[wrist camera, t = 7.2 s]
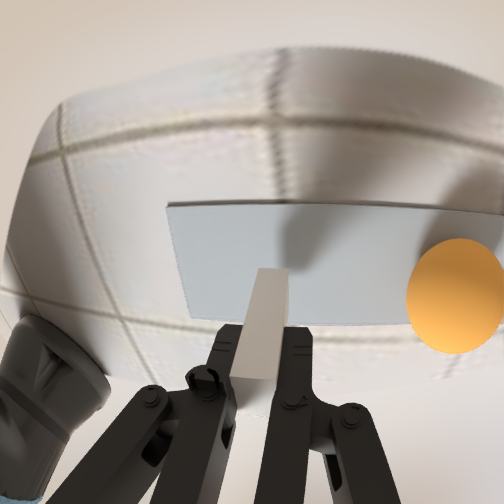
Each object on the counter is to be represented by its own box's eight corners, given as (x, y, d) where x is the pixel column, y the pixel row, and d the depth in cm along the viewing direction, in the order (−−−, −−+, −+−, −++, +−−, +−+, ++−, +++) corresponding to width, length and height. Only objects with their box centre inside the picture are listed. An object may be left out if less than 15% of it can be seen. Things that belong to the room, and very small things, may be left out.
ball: (491, 328, 12) (417, 301, 17) (518, 239, 10) (431, 216, 14) (474, 392, 9) (378, 351, 13) (523, 284, 7) (398, 246, 11)
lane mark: (191, 316, 19) (190, 318, 19) (166, 206, 15) (165, 207, 15) (529, 310, 14) (530, 311, 14) (561, 223, 10) (562, 224, 10)
